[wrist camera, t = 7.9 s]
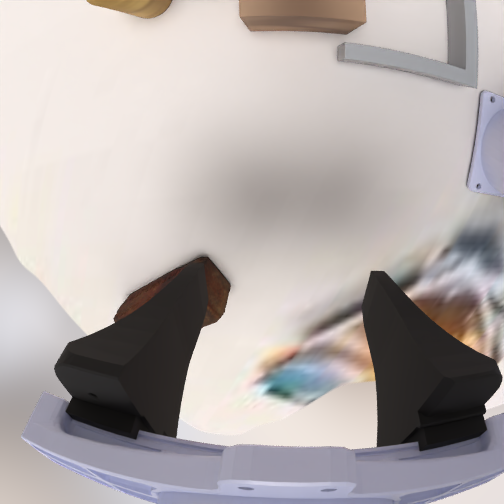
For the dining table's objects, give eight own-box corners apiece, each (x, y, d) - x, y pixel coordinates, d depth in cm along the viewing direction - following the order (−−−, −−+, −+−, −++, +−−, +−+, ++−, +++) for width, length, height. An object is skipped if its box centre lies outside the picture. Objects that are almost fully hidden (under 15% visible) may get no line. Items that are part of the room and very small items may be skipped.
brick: (204, 249, 25) (188, 285, 21) (232, 283, 26) (223, 322, 22) (125, 294, 29) (106, 327, 25) (152, 320, 30) (136, 354, 26)
